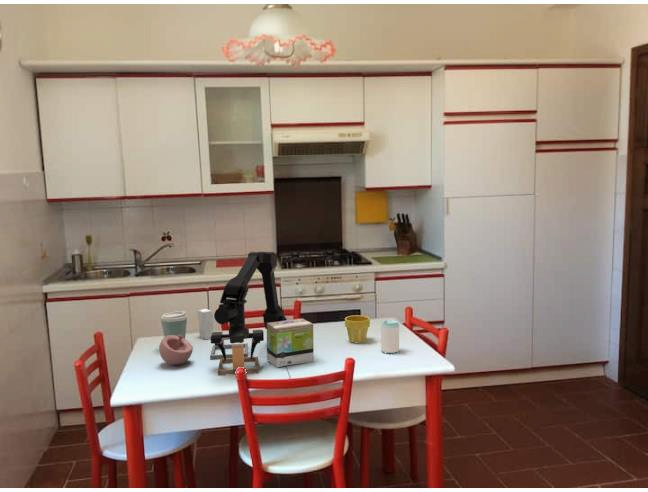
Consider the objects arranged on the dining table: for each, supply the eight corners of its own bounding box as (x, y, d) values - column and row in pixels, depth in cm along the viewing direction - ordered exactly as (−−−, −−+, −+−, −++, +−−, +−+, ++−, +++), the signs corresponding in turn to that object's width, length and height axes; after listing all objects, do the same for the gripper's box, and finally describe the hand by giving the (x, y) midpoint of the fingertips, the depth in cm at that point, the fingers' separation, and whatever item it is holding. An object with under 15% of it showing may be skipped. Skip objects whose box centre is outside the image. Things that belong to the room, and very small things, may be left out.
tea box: (277, 368, 208) (275, 328, 206) (266, 361, 217) (265, 322, 215) (314, 361, 215) (313, 322, 213) (303, 354, 224) (302, 317, 222)
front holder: (258, 360, 217) (257, 356, 217) (258, 372, 204) (258, 368, 203) (220, 362, 216) (220, 358, 216) (217, 375, 202) (217, 371, 202)
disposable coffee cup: (162, 354, 227) (160, 317, 225) (161, 347, 237) (159, 311, 235) (190, 351, 230) (188, 314, 228) (187, 344, 240) (185, 308, 238)
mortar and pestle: (182, 370, 208) (181, 339, 206) (153, 368, 211) (151, 337, 210) (199, 360, 219) (197, 330, 218) (171, 358, 223) (169, 329, 221)
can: (386, 355, 221) (386, 324, 219) (377, 350, 227) (377, 320, 226) (402, 352, 223) (402, 322, 222) (393, 347, 230) (393, 318, 228)
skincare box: (214, 338, 249) (213, 310, 247) (205, 340, 246) (204, 312, 244) (207, 335, 253) (206, 308, 252) (198, 337, 250) (197, 309, 249)
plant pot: (374, 339, 241) (374, 316, 240) (362, 346, 233) (362, 322, 231) (352, 336, 247) (352, 314, 246) (340, 342, 238) (340, 319, 237)
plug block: (244, 365, 212) (243, 344, 211) (244, 369, 208) (243, 347, 207) (233, 366, 212) (232, 344, 211) (232, 369, 208) (232, 348, 207)
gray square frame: (248, 346, 235) (247, 343, 235) (247, 357, 221) (247, 353, 221) (213, 348, 233) (212, 345, 233) (210, 359, 219) (210, 355, 219)
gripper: (208, 324, 199) (210, 368, 200) (263, 321, 201) (264, 365, 203) (210, 316, 209) (212, 358, 211) (262, 314, 212) (264, 355, 214)
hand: (238, 359), depth 209 cm, fingers open, 9 cm apart
